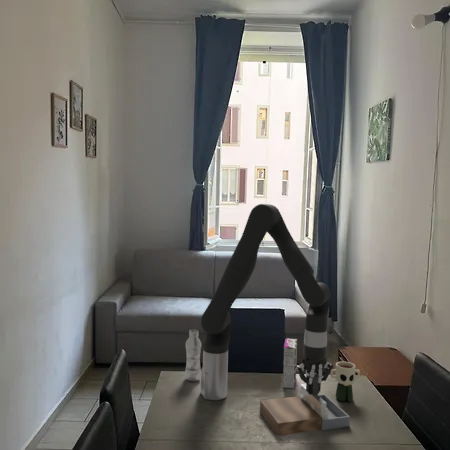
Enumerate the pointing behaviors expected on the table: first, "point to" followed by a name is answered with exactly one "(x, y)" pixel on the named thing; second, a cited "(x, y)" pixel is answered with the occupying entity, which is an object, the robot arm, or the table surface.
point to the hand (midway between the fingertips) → (313, 393)
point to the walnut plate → (290, 415)
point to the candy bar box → (289, 363)
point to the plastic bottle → (193, 356)
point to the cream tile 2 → (323, 414)
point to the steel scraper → (314, 395)
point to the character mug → (345, 379)
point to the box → (333, 415)
